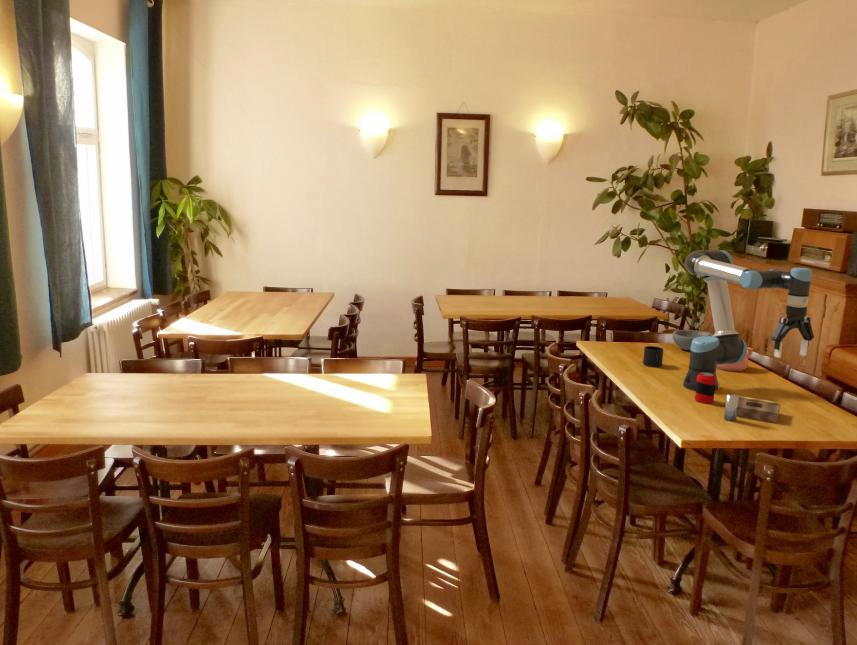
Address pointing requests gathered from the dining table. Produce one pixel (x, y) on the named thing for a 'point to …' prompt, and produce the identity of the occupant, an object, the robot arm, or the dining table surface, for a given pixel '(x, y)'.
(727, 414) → the bushing
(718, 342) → the robot arm
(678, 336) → the bowl
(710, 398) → the soda can
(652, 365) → the mug
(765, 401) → the jig
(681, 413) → the dining table surface
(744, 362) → the teapot
